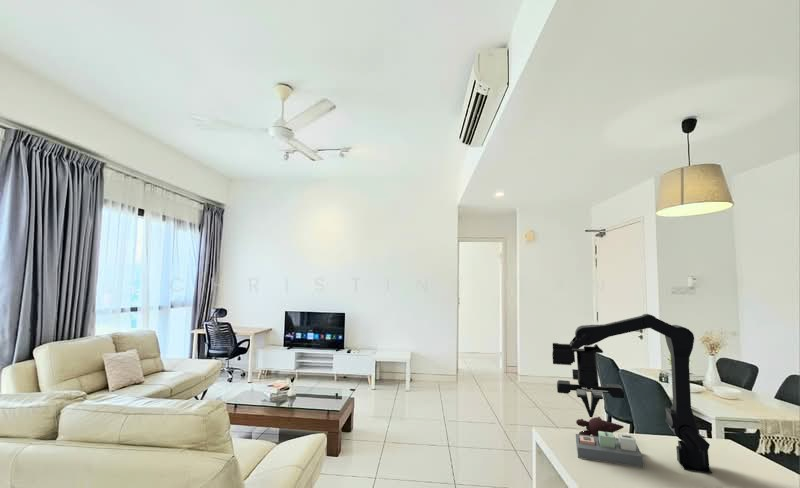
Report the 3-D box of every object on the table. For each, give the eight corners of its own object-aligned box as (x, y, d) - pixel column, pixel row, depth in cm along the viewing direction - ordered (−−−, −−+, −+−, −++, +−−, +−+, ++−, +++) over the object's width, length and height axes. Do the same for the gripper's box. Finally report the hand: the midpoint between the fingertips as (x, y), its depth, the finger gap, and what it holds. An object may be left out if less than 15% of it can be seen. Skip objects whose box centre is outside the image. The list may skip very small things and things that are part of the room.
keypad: (635, 451, 117) (635, 441, 118) (643, 467, 107) (642, 456, 108) (576, 443, 124) (575, 433, 124) (578, 457, 114) (577, 447, 114)
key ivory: (633, 448, 115) (632, 434, 115) (636, 453, 111) (635, 439, 112) (618, 446, 116) (618, 432, 117) (621, 451, 113) (620, 437, 113)
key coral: (594, 449, 119) (593, 436, 119) (595, 455, 115) (594, 441, 116) (580, 447, 120) (579, 434, 121) (581, 453, 117) (580, 439, 117)
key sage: (613, 445, 117) (612, 432, 117) (615, 450, 113) (614, 436, 114) (599, 443, 118) (598, 430, 119) (600, 448, 115) (599, 435, 115)
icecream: (616, 414, 132) (572, 416, 134) (624, 416, 125) (578, 418, 127) (622, 436, 130) (576, 438, 132) (630, 439, 123) (582, 441, 125)
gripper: (616, 362, 124) (620, 412, 122) (555, 359, 131) (558, 406, 129) (622, 370, 114) (626, 424, 112) (555, 366, 121) (558, 416, 119)
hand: (590, 416), depth 118 cm, fingers closed
